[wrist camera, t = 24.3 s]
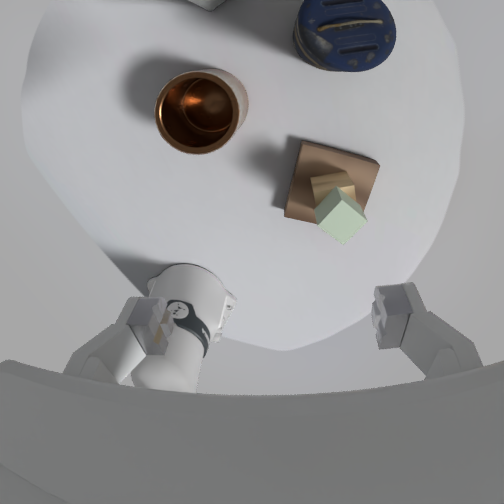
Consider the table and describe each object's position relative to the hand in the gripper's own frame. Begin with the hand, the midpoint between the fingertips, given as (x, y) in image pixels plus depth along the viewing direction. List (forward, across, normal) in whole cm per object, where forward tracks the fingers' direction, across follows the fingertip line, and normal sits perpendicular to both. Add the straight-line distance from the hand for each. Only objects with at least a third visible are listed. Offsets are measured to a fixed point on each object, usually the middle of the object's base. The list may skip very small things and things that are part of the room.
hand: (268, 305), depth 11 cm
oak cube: (+35, -7, +11) cm, 37 cm away
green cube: (+29, -7, +11) cm, 32 cm away
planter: (+37, +9, -4) cm, 39 cm away
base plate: (+37, -7, +11) cm, 39 cm away
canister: (+37, -8, -12) cm, 40 cm away
